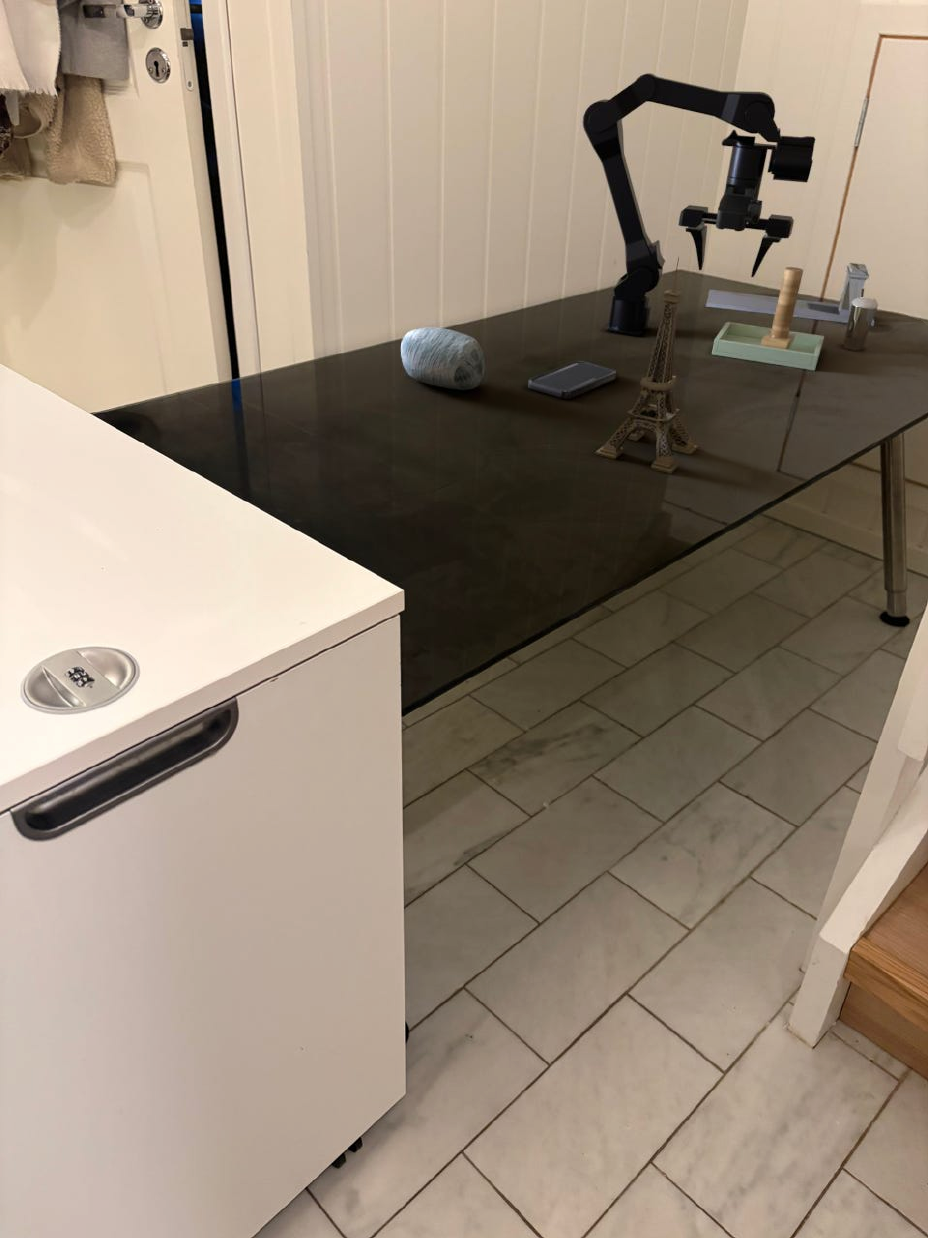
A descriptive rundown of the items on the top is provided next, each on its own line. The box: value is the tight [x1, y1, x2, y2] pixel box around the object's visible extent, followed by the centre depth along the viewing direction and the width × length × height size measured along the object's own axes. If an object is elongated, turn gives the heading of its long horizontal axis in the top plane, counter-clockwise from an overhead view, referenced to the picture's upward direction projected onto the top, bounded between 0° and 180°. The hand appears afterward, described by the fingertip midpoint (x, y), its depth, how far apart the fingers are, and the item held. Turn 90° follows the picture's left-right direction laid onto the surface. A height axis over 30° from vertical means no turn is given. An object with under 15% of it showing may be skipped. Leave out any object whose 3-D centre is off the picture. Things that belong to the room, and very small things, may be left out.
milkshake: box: [843, 288, 879, 352], centre depth 173 cm, size 4×5×10 cm
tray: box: [711, 321, 825, 371], centre depth 169 cm, size 18×14×3 cm
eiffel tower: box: [594, 256, 699, 475], centre depth 121 cm, size 11×11×25 cm
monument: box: [705, 262, 875, 327], centre depth 195 cm, size 12×33×10 cm, turn 75°
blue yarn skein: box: [400, 326, 486, 391], centre depth 145 cm, size 14×10×10 cm
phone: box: [527, 360, 617, 400], centre depth 150 cm, size 8×1×15 cm
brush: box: [761, 266, 804, 350], centre depth 165 cm, size 6×4×14 cm
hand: (726, 273), depth 168 cm, fingers open, 9 cm apart
